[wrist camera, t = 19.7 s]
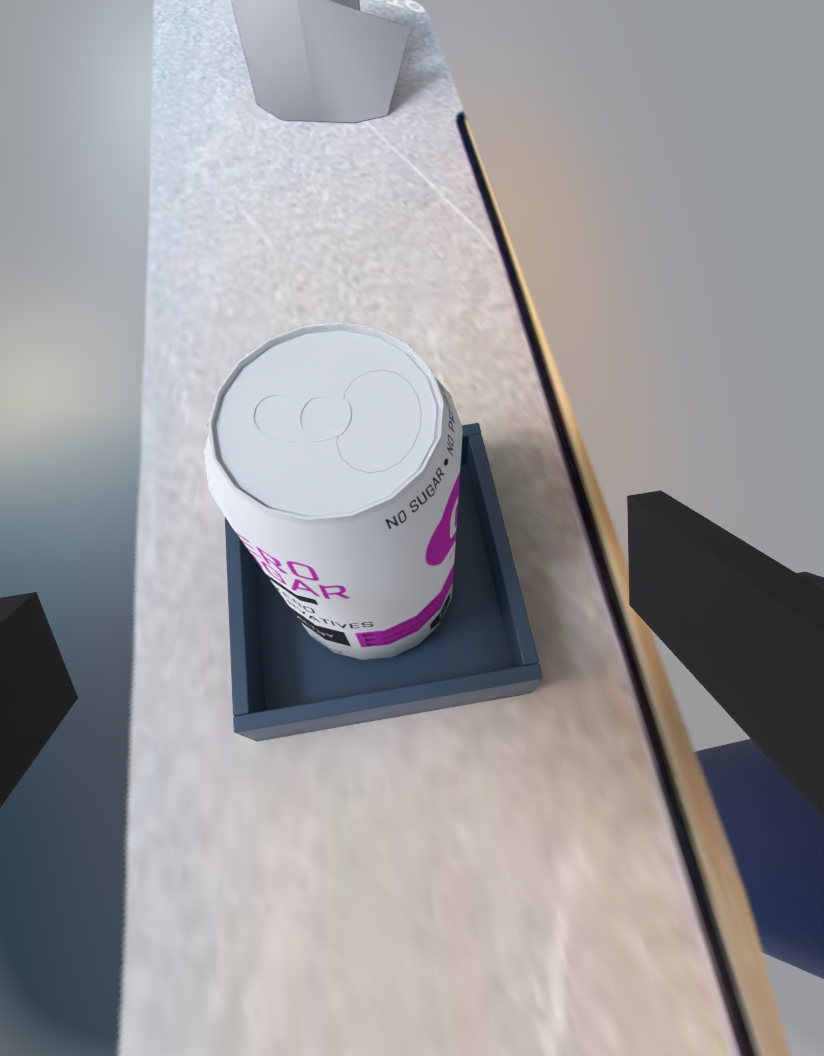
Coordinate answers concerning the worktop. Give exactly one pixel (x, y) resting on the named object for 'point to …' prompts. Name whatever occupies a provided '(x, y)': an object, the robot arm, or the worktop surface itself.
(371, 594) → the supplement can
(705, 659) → the robot arm
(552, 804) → the worktop surface
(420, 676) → the blue open tray
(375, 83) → the toilet tissue
